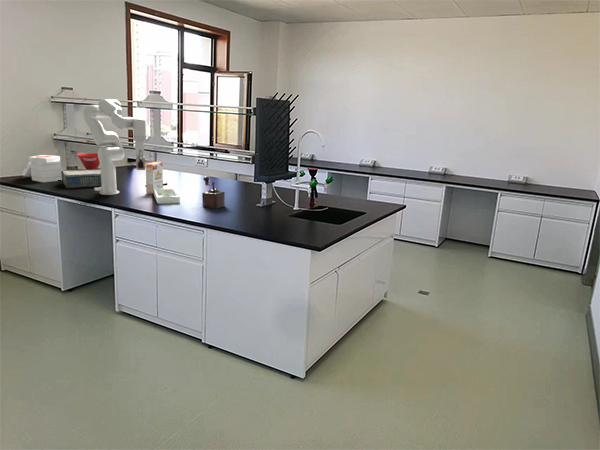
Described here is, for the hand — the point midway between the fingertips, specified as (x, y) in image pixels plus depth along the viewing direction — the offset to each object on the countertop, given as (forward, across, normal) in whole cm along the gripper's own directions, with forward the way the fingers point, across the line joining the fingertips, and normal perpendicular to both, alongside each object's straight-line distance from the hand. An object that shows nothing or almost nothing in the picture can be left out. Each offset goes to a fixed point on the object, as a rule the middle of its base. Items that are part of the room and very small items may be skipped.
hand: (140, 166), depth 295 cm
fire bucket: (+23, -90, -33) cm, 98 cm away
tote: (+22, +2, +15) cm, 27 cm away
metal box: (+23, -62, -34) cm, 74 cm away
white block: (+21, +10, +15) cm, 27 cm away
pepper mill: (+21, +24, +40) cm, 52 cm away
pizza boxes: (+23, -88, -68) cm, 114 cm away
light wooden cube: (+2, 0, 0) cm, 2 cm away
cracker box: (+22, -26, +10) cm, 35 cm away
